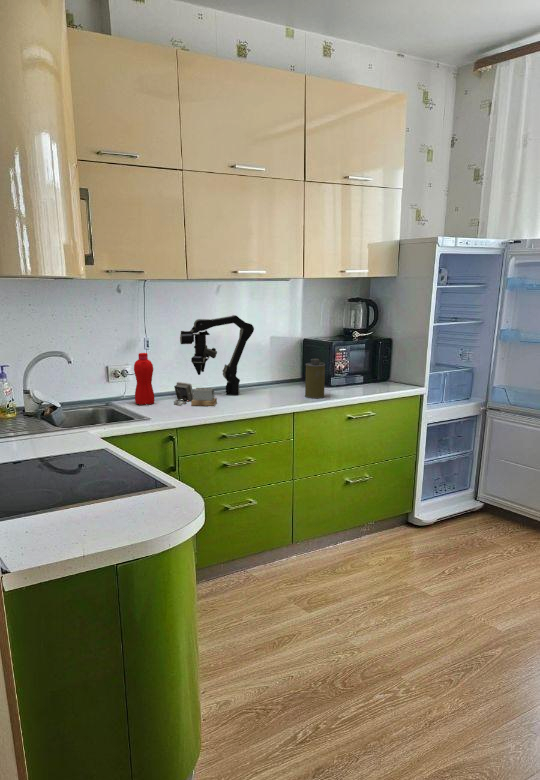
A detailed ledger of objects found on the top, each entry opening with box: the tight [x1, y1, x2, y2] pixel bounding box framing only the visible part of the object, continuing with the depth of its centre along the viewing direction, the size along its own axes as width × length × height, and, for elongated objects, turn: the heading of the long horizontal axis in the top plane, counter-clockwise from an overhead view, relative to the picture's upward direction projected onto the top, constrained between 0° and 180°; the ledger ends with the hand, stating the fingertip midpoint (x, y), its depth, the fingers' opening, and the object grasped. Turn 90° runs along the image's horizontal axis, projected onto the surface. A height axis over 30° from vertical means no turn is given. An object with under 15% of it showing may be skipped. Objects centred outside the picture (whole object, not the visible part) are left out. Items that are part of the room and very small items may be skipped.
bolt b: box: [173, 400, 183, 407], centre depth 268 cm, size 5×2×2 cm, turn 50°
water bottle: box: [133, 352, 155, 406], centre depth 271 cm, size 9×11×25 cm
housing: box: [193, 387, 215, 401], centre depth 269 cm, size 6×9×6 cm, turn 85°
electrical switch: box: [174, 381, 194, 402], centre depth 279 cm, size 9×5×9 cm, turn 57°
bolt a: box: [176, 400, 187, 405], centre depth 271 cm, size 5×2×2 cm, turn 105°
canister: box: [304, 358, 326, 399], centre depth 289 cm, size 11×10×20 cm
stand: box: [190, 397, 218, 407], centre depth 270 cm, size 11×8×2 cm
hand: (201, 373), depth 288 cm, fingers open, 9 cm apart
